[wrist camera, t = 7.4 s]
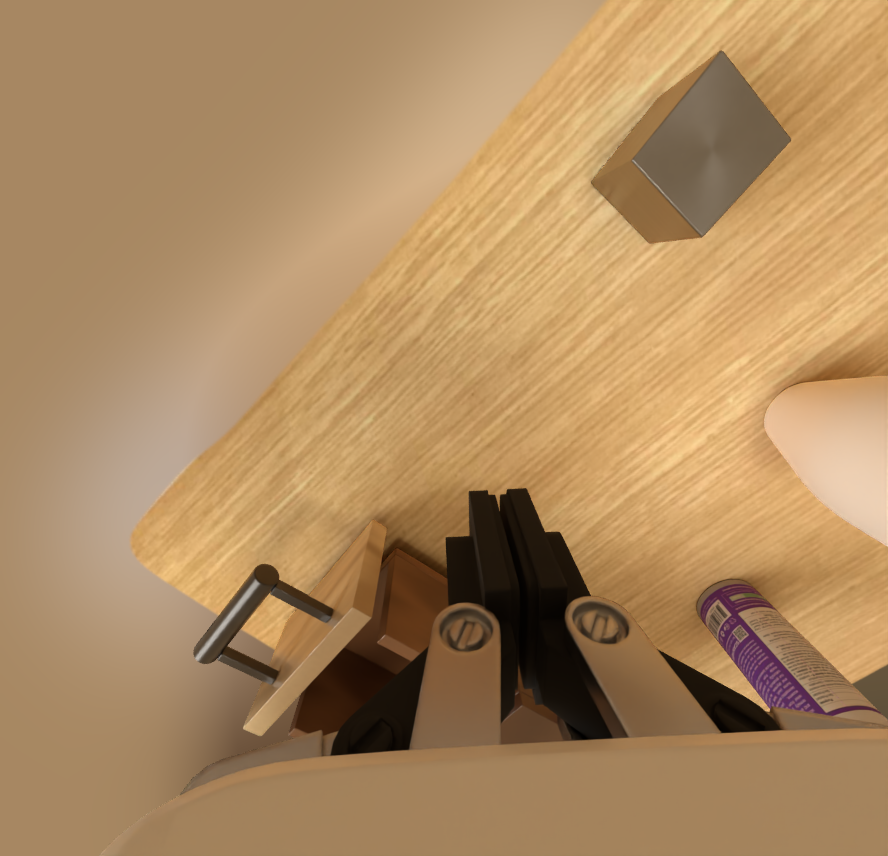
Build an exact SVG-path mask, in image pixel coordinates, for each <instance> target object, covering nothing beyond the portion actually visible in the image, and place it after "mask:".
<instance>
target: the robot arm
mask: <svg viewBox="0 0 888 856" xmlns="http://www.w3.org/2000/svg"><path fill="white" fill-rule="evenodd" d="M469 528H470V536H464V537H446V557H447V582H448V606H449V607H447V608H446V609H444V610H442V611H441V612H440V613H439V615H438V616H437V617H436V618H435V621H434V624H433V626H432V632H431V637H430V642H429V646H428V647H427V648H426V649H425V650H424V651H423V652H422V653H420V654H419V655H418V656H417V657H416V658H415V659H414V660H413V661H412V662H410V663H409V664H408V665H407V666H406V667H405V668H404V669H403V670H402V671H400V672H399V673H398V674H397V675H396V676H395V677H394V678H393V679H392V680H390V681H389V682H388V683H387V684H386V685H385V686H384V687H383V688H382V689H380V690H379V691H378V692H377V693H376V694H375V695H374V696H373V697H372V698H370V699H369V700H368V701H367V702H366V703H365V704H364V705H363V706H362V707H360V708H359V709H358V710H357V711H356V712H355V713H354V714H353V715H352V716H350V717H349V718H348V720H347V721H346V722H345V723H344V724H343V725H342V726H341V728H340V729H339V731H337V732H334V733H330V734H327V735H324V736H323V732H322V730H319V731H316V732H313V733H309V734H306V735H303V736H299V737H296V738H292V739H289V740H286V741H282V742H279V743H275V744H272V745H269V746H265V747H262V748H259V749H255V750H252V751H249V752H245V753H242V754H238V755H235V756H231V757H228V758H225V759H221V760H219V761H217V762H215V763H213V764H211V765H209V766H207V767H205V768H204V769H203V770H202V771H201V772H199V773H198V774H197V775H196V776H195V777H193V778H192V779H191V781H190V782H189V784H188V785H187V786H186V787H185V788H184V790H183V791H182V792H181V794H180V796H178V797H175V798H174V799H172V800H170V801H168V802H167V803H165V804H163V805H161V806H160V807H158V808H156V809H154V810H153V811H151V812H150V813H148V814H147V815H146V816H144V817H142V818H141V819H139V820H138V821H136V822H135V823H134V824H133V825H131V826H130V827H129V828H128V829H126V830H125V831H124V832H123V833H122V834H120V835H119V836H118V837H117V838H116V839H115V840H114V841H113V842H112V843H111V844H110V845H109V846H108V847H107V848H106V849H105V850H104V851H103V852H102V853H101V854H100V855H99V856H888V726H887V725H884V724H878V723H872V722H866V721H860V720H854V719H848V718H841V717H835V716H829V715H823V714H817V713H811V712H805V711H799V710H793V709H787V708H781V707H775V706H771V709H770V712H766V711H764V710H763V709H762V708H761V707H760V706H758V705H757V704H755V703H754V702H752V701H751V700H749V699H748V698H746V697H745V696H743V695H741V694H739V693H737V692H735V691H733V690H732V689H730V688H728V687H726V686H724V685H722V684H721V683H719V682H717V681H715V680H713V679H711V678H709V677H708V676H706V675H704V674H702V673H700V672H698V671H696V670H695V669H693V668H691V667H689V666H687V665H685V664H684V663H682V662H680V661H678V660H676V659H674V658H672V657H671V656H669V655H667V654H665V653H663V652H661V651H660V650H658V649H657V648H656V647H655V646H654V645H653V643H652V642H651V641H650V639H649V638H648V637H647V635H646V634H645V633H644V632H643V630H642V629H641V628H640V626H639V625H638V624H637V622H636V621H635V620H634V618H633V617H632V616H631V615H630V614H629V613H628V612H627V611H626V610H625V609H624V608H623V607H621V606H620V605H618V604H617V603H615V602H613V601H610V600H608V599H605V598H601V597H596V596H591V595H590V593H589V591H588V589H587V587H586V585H585V583H584V581H583V578H582V576H581V574H580V572H579V570H578V568H577V566H576V564H575V562H574V560H573V558H572V556H571V553H570V551H569V549H568V547H567V545H566V543H565V541H564V539H563V537H562V535H561V533H560V532H545V531H544V529H543V526H542V524H541V522H540V519H539V517H538V514H537V512H536V510H535V507H534V505H533V503H532V500H531V498H530V495H529V493H528V491H527V489H526V488H523V489H507V493H506V494H502V495H500V511H499V507H498V504H497V500H496V496H495V495H489V494H488V491H487V490H484V491H469ZM518 665H519V670H520V674H521V679H522V684H523V687H524V689H532V693H533V697H534V701H535V705H544V706H545V707H547V708H548V709H549V710H551V711H552V712H553V713H555V714H556V715H557V723H558V727H559V731H560V733H561V735H562V738H563V740H564V741H559V742H540V743H522V744H504V745H501V723H502V722H503V721H504V719H505V718H506V717H507V715H508V714H509V713H510V712H511V710H512V709H513V708H514V706H515V690H517V689H518Z"/></svg>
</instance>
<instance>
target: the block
mask: <svg viewBox="0 0 888 856" xmlns="http://www.w3.org/2000/svg"><path fill="white" fill-rule="evenodd" d="M790 141H791V138H790V137H789V136H788V134H787V133H786V132H785V131H784V129H783V128H782V127H781V125H780V124H779V123H778V121H777V120H776V119H775V118H774V116H773V115H772V114H771V112H770V111H769V110H768V109H767V107H766V106H765V105H764V103H763V102H762V101H761V100H760V98H759V97H758V96H757V94H756V93H755V92H754V90H753V89H752V88H751V87H750V85H749V84H748V83H747V81H746V80H745V79H744V78H743V76H742V75H741V74H740V72H739V71H738V70H737V69H736V67H735V66H734V65H733V63H732V62H731V61H730V59H729V58H728V57H727V56H726V54H725V53H724V52H723V51H722V50H721V51H719V52H718V53H717V54H715V55H714V56H713V57H711V58H710V59H709V60H707V61H706V62H705V63H704V64H702V65H701V66H700V67H698V68H697V69H696V70H694V71H693V72H692V73H690V74H689V75H688V76H686V77H685V78H684V79H682V80H681V81H680V82H678V83H677V84H676V85H675V86H673V87H672V88H671V89H669V90H668V91H667V92H665V93H664V94H663V95H661V96H660V97H659V98H658V99H657V100H656V101H655V103H654V104H653V105H652V106H651V108H650V109H649V110H648V111H647V113H646V114H645V115H644V116H643V118H642V119H641V120H640V121H639V123H638V124H637V125H636V126H635V128H634V129H633V130H632V131H631V133H630V134H629V135H628V136H627V138H626V139H625V140H624V142H623V143H622V144H621V145H620V147H619V148H618V149H617V150H616V152H615V153H614V154H613V155H612V157H611V158H610V159H609V160H608V162H607V163H606V164H605V165H604V167H603V168H602V169H601V170H600V172H599V173H598V174H597V175H596V177H595V178H594V179H593V180H592V182H591V183H592V184H593V185H594V186H595V188H596V189H597V190H598V191H599V192H600V193H601V194H602V195H603V196H604V197H605V198H606V199H607V200H608V201H609V202H610V203H611V204H612V205H613V206H614V207H615V208H616V209H617V210H618V211H619V212H620V213H621V214H622V215H623V216H624V217H625V218H626V219H627V221H628V222H629V223H630V224H631V225H632V226H633V227H634V228H635V229H636V230H637V231H638V232H639V233H640V234H641V235H642V236H643V237H644V238H645V239H646V240H647V241H648V242H649V243H659V242H668V241H676V240H684V239H693V238H701V237H703V236H704V235H705V234H706V233H707V232H708V231H709V230H710V229H711V227H712V226H713V225H714V224H715V223H716V222H717V221H718V220H719V219H720V218H721V217H722V215H723V214H724V213H725V212H726V211H727V210H728V209H729V208H730V207H731V206H732V205H733V203H734V202H735V201H736V200H737V199H738V198H739V197H740V196H741V195H742V194H743V193H744V191H745V190H746V189H747V188H748V187H749V186H750V185H751V184H752V183H753V182H754V180H755V179H756V178H757V177H758V176H759V175H760V174H761V173H762V172H763V171H764V170H765V168H766V167H767V166H768V165H769V164H770V163H771V162H772V161H773V160H774V159H775V158H776V156H777V155H778V154H779V153H780V152H781V151H782V150H783V149H784V148H785V147H786V146H787V144H788V143H789V142H790Z"/></svg>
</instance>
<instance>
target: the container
mask: <svg viewBox="0 0 888 856" xmlns="http://www.w3.org/2000/svg"><path fill="white" fill-rule="evenodd" d="M697 613H698V615H699V617H700V618H701V619H702V621H703V622H704V624H705V625H706V626H707V627H708V629H709V630H710V631H711V633H712V634H713V635H714V637H715V638H716V639H717V641H718V642H719V643H720V644H721V646H722V647H723V648H724V650H725V651H726V652H727V654H728V655H729V656H730V657H731V659H732V660H733V661H734V663H735V664H736V665H737V667H738V668H739V669H740V671H741V672H742V673H743V674H744V676H745V677H746V678H747V680H748V681H749V682H750V684H751V685H752V686H753V687H754V689H755V690H756V691H757V693H758V694H759V695H760V697H761V698H762V699H763V700H764V702H765V703H766V704H767V706H768V707H769V708H770V709H771V706H775V707H781V708H787V709H793V710H799V711H805V712H811V713H817V714H823V715H829V716H835V717H841V718H848V719H854V720H860V721H866V722H872V723H878V724H884V725H887V726H888V720H887V719H886V718H885V717H884V716H883V715H882V714H881V713H880V712H879V711H878V710H877V709H876V708H875V707H874V706H873V705H872V704H871V703H870V702H869V701H868V700H867V699H866V698H865V697H864V696H863V695H862V694H861V693H860V692H859V691H858V690H857V689H856V688H855V687H854V686H853V685H852V684H851V683H850V682H849V681H848V680H847V679H846V678H845V677H844V676H843V675H842V674H841V673H840V672H839V671H838V670H837V669H836V668H835V667H834V666H833V665H832V664H831V663H830V662H829V661H828V660H827V659H826V658H824V657H823V656H822V655H821V654H820V653H819V652H818V651H817V650H816V649H815V648H814V647H813V646H812V645H811V644H810V643H809V642H808V641H807V640H806V639H805V638H804V637H803V636H802V635H801V634H800V633H799V632H798V631H797V630H796V629H795V628H794V627H793V626H792V625H791V624H790V623H789V622H788V621H787V620H786V619H785V618H784V617H783V616H782V615H781V614H780V613H779V612H778V611H777V610H776V609H775V608H774V607H773V606H772V605H771V604H770V603H769V602H768V601H767V600H766V599H765V598H764V597H763V596H762V595H761V594H760V593H759V592H758V591H757V590H756V589H754V588H753V587H752V586H751V585H750V584H749V583H747V582H745V581H742V580H725V581H722V582H719V583H717V584H714V585H713V586H711V587H710V588H708V589H707V590H706V591H705V592H704V593H703V594H702V595H701V597H700V598H699V601H698V603H697Z"/></svg>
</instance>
